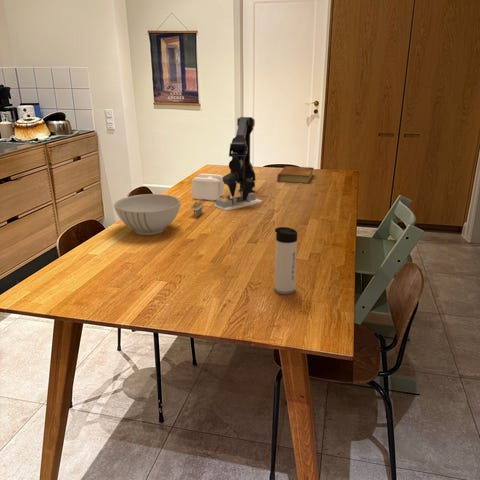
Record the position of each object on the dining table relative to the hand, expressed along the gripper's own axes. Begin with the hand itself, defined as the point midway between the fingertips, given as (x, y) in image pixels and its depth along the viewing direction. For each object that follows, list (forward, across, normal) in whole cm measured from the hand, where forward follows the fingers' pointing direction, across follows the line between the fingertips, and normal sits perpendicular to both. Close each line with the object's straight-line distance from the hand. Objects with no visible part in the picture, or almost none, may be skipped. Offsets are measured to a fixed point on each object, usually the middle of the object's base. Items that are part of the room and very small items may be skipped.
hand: (238, 198), depth 227 cm
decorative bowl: (+3, +7, -53) cm, 54 cm away
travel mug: (+3, +82, -47) cm, 95 cm away
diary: (+4, -22, +62) cm, 66 cm away
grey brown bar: (+2, 0, 0) cm, 2 cm away
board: (+3, 0, 0) cm, 3 cm away
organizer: (+3, -19, -5) cm, 20 cm away
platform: (+4, +2, -26) cm, 26 cm away
